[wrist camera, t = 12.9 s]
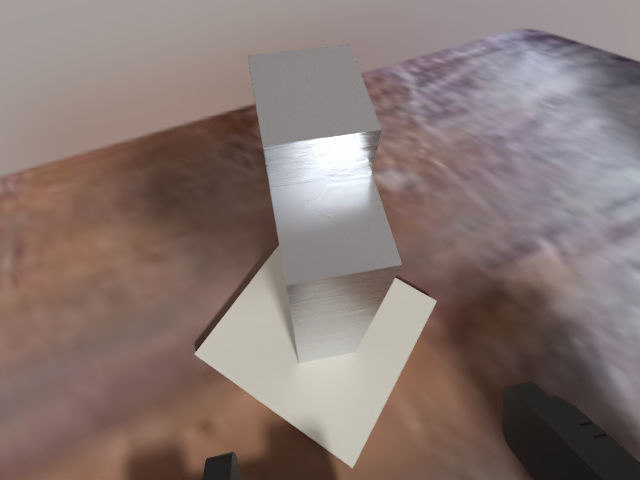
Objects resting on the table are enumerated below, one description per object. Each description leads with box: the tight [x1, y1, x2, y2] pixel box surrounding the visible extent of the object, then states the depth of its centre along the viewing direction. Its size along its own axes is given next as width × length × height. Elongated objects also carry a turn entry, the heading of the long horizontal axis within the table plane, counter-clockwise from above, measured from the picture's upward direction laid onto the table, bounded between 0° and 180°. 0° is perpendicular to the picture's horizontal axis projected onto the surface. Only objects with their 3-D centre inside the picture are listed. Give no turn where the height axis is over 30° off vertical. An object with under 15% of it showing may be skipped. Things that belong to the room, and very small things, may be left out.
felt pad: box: [195, 245, 437, 468], centre depth 24 cm, size 11×11×1 cm
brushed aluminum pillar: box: [248, 45, 402, 364], centre depth 17 cm, size 8×4×15 cm, turn 11°
